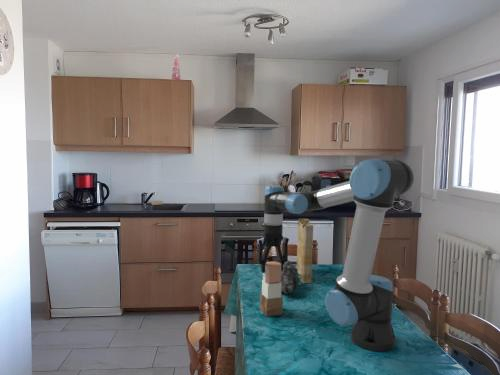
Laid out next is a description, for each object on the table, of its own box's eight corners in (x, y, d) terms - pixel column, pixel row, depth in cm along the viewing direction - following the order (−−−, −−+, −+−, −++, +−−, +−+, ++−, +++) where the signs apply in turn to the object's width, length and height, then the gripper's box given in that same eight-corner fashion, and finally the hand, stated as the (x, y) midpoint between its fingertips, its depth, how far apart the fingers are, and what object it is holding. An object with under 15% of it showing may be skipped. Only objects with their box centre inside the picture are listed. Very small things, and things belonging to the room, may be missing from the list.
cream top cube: (281, 297, 154) (281, 283, 153) (267, 299, 151) (268, 284, 151) (274, 292, 159) (275, 278, 159) (261, 294, 157) (262, 280, 156)
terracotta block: (280, 281, 153) (281, 264, 153) (268, 283, 151) (268, 266, 151) (275, 277, 159) (275, 261, 158) (263, 278, 157) (263, 262, 156)
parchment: (295, 269, 215) (297, 217, 212) (306, 270, 215) (308, 218, 212) (299, 283, 192) (301, 225, 189) (311, 284, 191) (313, 225, 189)
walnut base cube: (282, 314, 154) (282, 297, 153) (266, 316, 151) (267, 299, 151) (275, 307, 161) (275, 291, 160) (259, 309, 158) (260, 293, 157)
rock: (268, 309, 175) (297, 302, 170) (254, 280, 174) (284, 272, 168) (278, 286, 195) (305, 279, 190) (266, 260, 194) (293, 252, 188)
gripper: (289, 221, 160) (287, 274, 162) (248, 223, 153) (247, 278, 155) (297, 224, 153) (296, 280, 155) (255, 226, 146) (254, 284, 148)
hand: (271, 279), depth 155 cm, fingers closed on terracotta block, 5 cm apart
